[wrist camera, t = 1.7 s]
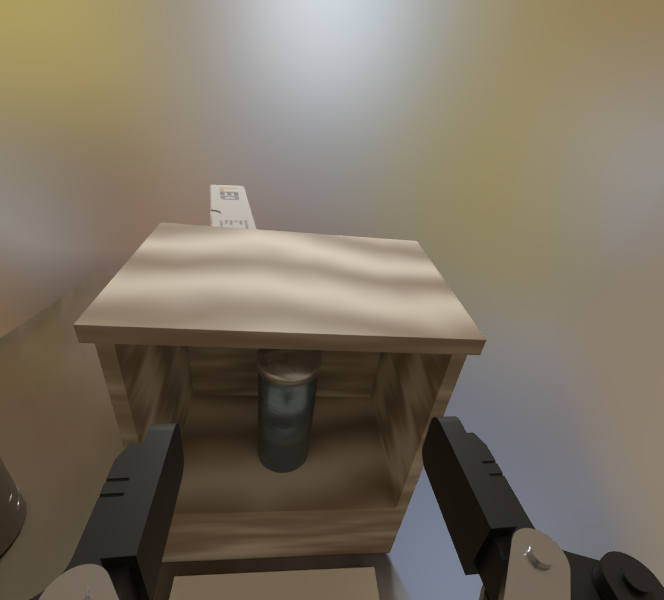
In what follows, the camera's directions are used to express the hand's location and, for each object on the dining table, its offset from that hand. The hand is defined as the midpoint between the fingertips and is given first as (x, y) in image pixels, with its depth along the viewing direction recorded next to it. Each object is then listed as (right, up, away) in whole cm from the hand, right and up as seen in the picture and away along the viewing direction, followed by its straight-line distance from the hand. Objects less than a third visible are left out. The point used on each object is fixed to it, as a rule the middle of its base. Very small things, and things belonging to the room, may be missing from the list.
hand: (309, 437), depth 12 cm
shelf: (-5, -16, +29) cm, 34 cm away
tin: (-4, -10, +24) cm, 27 cm away
